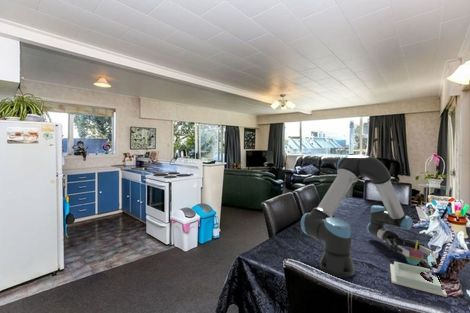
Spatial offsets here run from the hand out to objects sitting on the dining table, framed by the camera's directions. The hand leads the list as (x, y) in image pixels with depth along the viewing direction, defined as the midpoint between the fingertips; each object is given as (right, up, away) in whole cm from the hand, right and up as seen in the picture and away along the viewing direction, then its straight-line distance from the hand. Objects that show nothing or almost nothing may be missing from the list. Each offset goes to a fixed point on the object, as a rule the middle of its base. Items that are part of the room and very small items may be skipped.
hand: (419, 253), depth 114 cm
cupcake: (0, -7, +4) cm, 8 cm away
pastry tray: (-11, -7, -11) cm, 16 cm away
